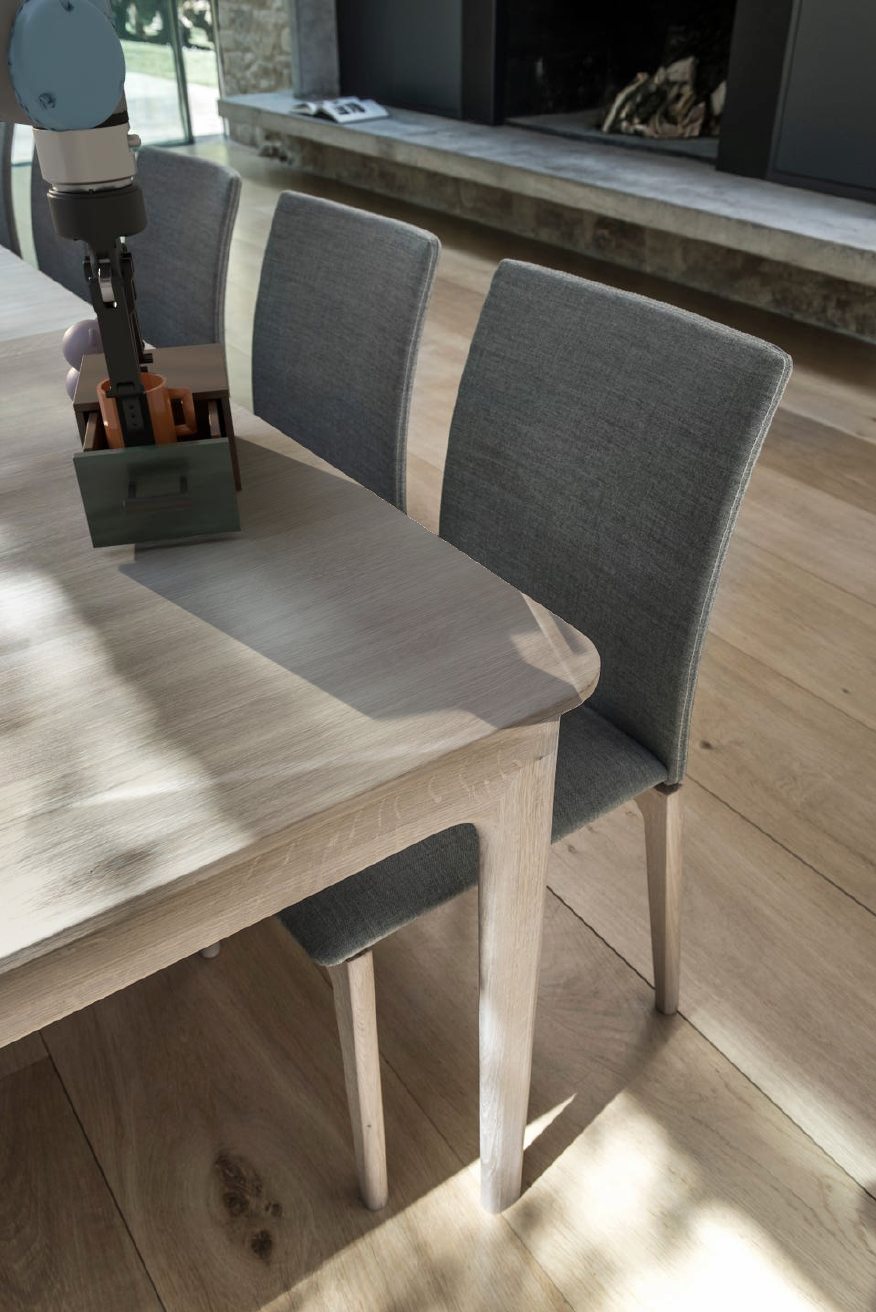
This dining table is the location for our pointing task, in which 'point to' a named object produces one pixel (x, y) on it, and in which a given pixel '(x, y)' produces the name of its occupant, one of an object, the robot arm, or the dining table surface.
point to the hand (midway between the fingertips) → (144, 447)
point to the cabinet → (181, 369)
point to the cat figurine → (80, 349)
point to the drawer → (158, 483)
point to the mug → (151, 411)
